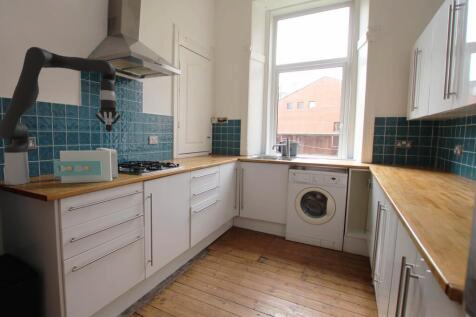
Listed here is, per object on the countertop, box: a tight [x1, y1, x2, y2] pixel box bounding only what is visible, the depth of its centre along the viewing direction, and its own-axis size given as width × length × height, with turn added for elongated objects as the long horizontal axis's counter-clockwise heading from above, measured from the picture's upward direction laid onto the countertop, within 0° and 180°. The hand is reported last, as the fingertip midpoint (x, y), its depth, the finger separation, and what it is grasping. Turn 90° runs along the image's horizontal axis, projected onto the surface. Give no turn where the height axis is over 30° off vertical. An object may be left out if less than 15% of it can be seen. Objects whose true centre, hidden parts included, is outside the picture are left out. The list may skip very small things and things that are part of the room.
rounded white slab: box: [95, 147, 119, 179], centre depth 161 cm, size 29×8×18 cm, turn 44°
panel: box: [53, 160, 102, 177], centre depth 131 cm, size 22×1×8 cm, turn 108°
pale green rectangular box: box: [59, 150, 113, 184], centre depth 136 cm, size 25×13×18 cm, turn 108°
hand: (109, 131), depth 133 cm, fingers closed
